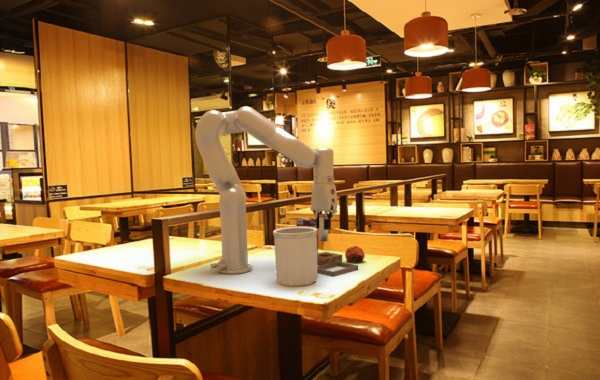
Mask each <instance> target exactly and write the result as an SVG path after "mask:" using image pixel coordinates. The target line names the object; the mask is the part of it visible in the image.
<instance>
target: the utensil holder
mask: <svg viewBox="0 0 600 380" xmlns="http://www.w3.org/2000/svg"><path fill="white" fill-rule="evenodd" d="M316 234H317V235H318V229H316V228H314V227H305V226H297V225H296V226H285V227H281V228H275V229H274V230H273V231H272V235H273V239H274V254H275V256H274V258H275V259H274V260H275V269H276V270H275V271H276V281H277V283H278V284H279V285H282V286H287V287H303V286H309V285H311V284H314V283H316V282H317V279H318V273H317V266H318V265H317V238H316Z"/></svg>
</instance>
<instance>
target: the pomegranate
mask: <svg viewBox="0 0 600 380" xmlns="http://www.w3.org/2000/svg"><path fill="white" fill-rule="evenodd" d="M344 254H345V259H346V261H347V263H353V265H356V263H363V262H364V259H365V252H364V250H363V248H360V247H359V246H357V245H354V246H349V248H347V249H346V250H345V253H344Z"/></svg>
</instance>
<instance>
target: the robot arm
mask: <svg viewBox="0 0 600 380" xmlns="http://www.w3.org/2000/svg"><path fill="white" fill-rule="evenodd" d="M195 127H196V128H195V135H194V136H195V143H196V145H197V149H198V152H199V153H200V156H201V159H202V161H203V163H204V166H205V168H206V170H207V174H208V176H209V178H210V180H211V182H213V183H214V185H215V187H216V190H217V192H218V194H219V198H218V199H219V213H220V214H219V215H220V218H219V219H220V231H221V232H220V233H221V235H220V236H221V258H219V261H218V262H213V263H211V264H210V269H211V270H214V269H218V272H219V273H221V274H227V275H228V274H229V275H236V274H244V273H248V272H250V271H252V270H253V265H251V264H250V263H249V255H248V227H247V226H248V225H247V194H246V191H245V189H244V186H243V184H242V182H241V180H240V177H239V176H238V172H237V170H236V168H235V167H234V165H233V163H232V162H230V160H229V158H228V156H227V153H226V152H225V150H224V147H223V144H222V142H221V140H220V136H223V135H228V134H235V133H236V134H237V133H242V132H245V133H247V134H249V135H250V136H251V137H253V138H254V139H256V140H258V141H259V142H260V143H262V144H263V145H265V146H266V147H268V148H269V149H272V150H275V151H276V152H279V153H280V154H281V155H283V156H284V157H286V158H288V159H289V160H290V161H292V162H294V164H295V165H296V166H297V167H299V168H305V169H307V168H310V167H313V184H312V190H311V197H310V199H311V200H310V201H311V207H310V211H311V212H312V213H313V214H314V219H316V228H317V230H319V214H325V219H324V230H328V231H329V230H331V229H332V219H333V218H334V217H333V216H335V215H336V214H337V213H338V193H337V188H336V185H335V184H334V182H335V180H336V179H335V178H334V150H333V149H332V148H330V147H317V148H311V147H309V146H308V145H307V144H305V143H304V142H302V141H301V140H299V139H298V138H296V137H295V136H293V135H292V134H290V133H289V132H287V131H286V130H284V129H283V128H282V127H280V126H279V125H277V124H276V123H274V122H273V121H272V120H270V119H269V118H267V117H266V116H264V115H263V114H262V113H260V112H259V111H257V110H255V109H254V108H253V107H250V106H247V105H245V106H241V107H239V109H237V110H231V111H224V112H222V111H220V110H217V109H212V110H208V111H206V112H205V113H204V114H203V115H202V116H201V117H200V118H199V120H198V122H197V124H196V126H195ZM323 212H324V213H323Z"/></svg>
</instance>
